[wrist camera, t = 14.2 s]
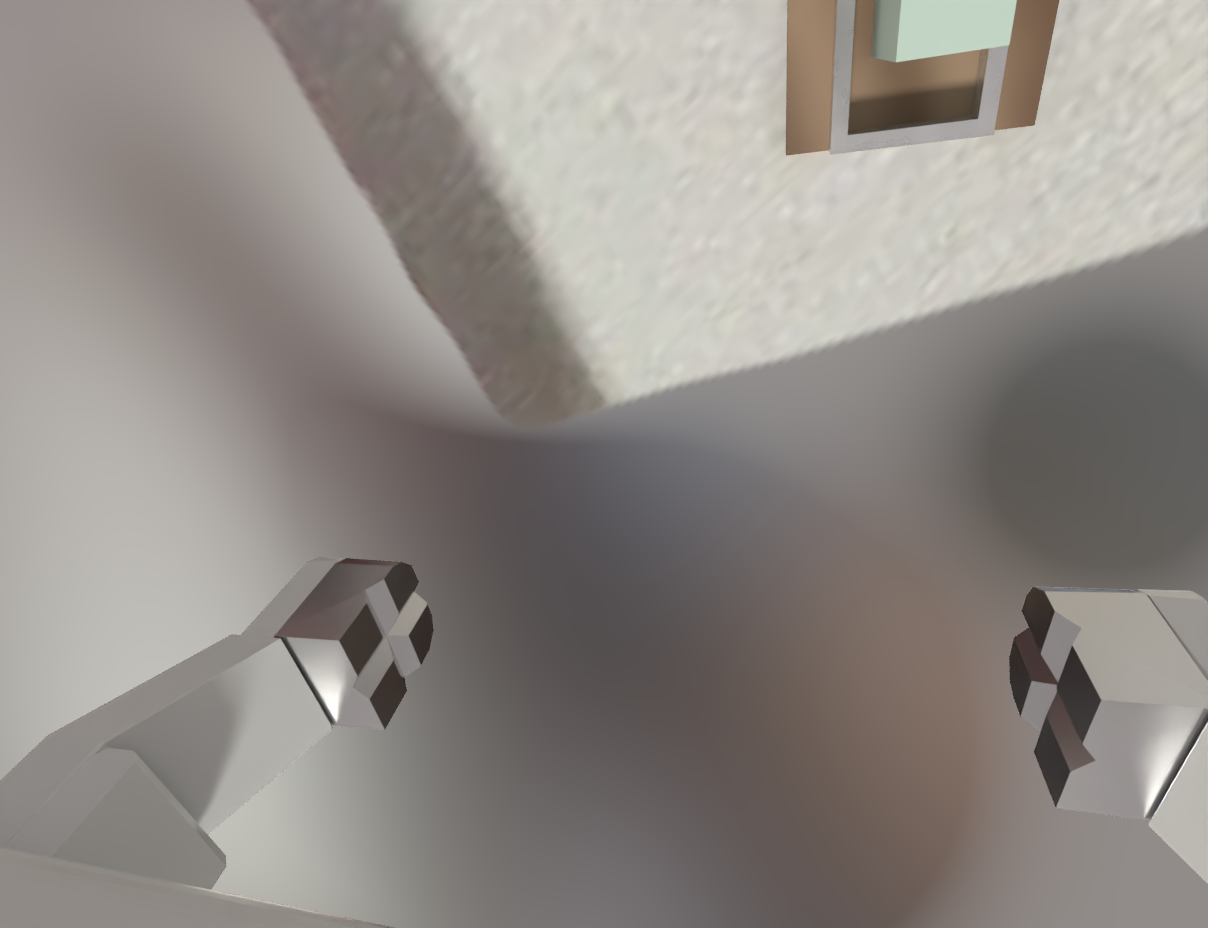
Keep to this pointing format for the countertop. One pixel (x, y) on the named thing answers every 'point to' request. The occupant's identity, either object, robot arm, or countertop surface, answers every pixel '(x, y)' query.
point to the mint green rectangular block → (939, 27)
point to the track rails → (912, 133)
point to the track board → (904, 75)
